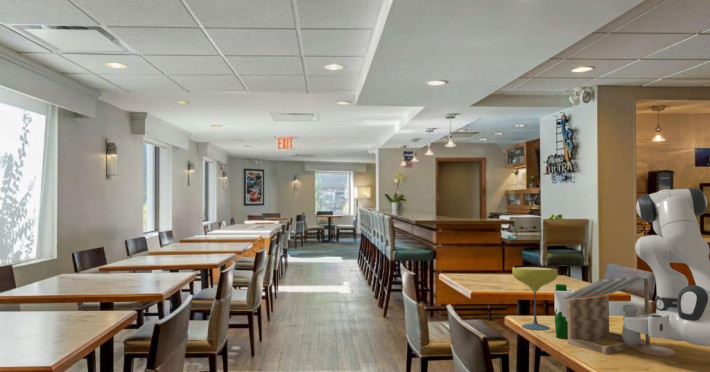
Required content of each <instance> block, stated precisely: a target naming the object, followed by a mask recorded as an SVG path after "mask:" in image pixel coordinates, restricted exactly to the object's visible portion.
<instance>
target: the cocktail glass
mask: <svg viewBox="0 0 710 372" xmlns="http://www.w3.org/2000/svg"><path fill="white" fill-rule="evenodd" d="M558 273H559V272H558V268H557V267H553V266H547V265H529V264H527V265H526V264H524V265H523V264H522V265H514V266H512V276H513V277H514V278H515V279H516V280H517V281H518V282H521V283H522V284H525V285H526V286H528V287H529V288H530V290H531V291H532V292H533V293H534V294H533V298H534V301H533V302H534V307H533V308H534V309H533V310H534V314H533V315H534V316H533V322H532V323H525V324H522V325H521V327H522V328H524V329H527V330H530V331H531V330H532V331H547V330H549V329H550V327H549V326H547V325H544V324H541V323H538V320H537V318H538V317H537V297H536V295H537V292H538V291H539V290H540V289H541V288H542V287H543V286H546V285H548V284H550V283H552V282H554V281H555V280H556V279H557V278H558V275H559V274H558Z"/></svg>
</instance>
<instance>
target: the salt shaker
mask: <svg viewBox="0 0 710 372" xmlns="http://www.w3.org/2000/svg"><path fill="white" fill-rule="evenodd" d="M622 307H623V308H622V309H623V310H622V311H623V313H625V315H624V316H636V315H637V312H638V307H637V306H636V305H632V304H625V305H623V306H622ZM621 334H622V338H623V339H624V341H625V343H627V344H635V345H636V344H638V343H639V341H640V339H642V338H641V333H639V332H635V331H632V330H628V329H626V328H625V327H624V324H623V327H622V332H621Z"/></svg>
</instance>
